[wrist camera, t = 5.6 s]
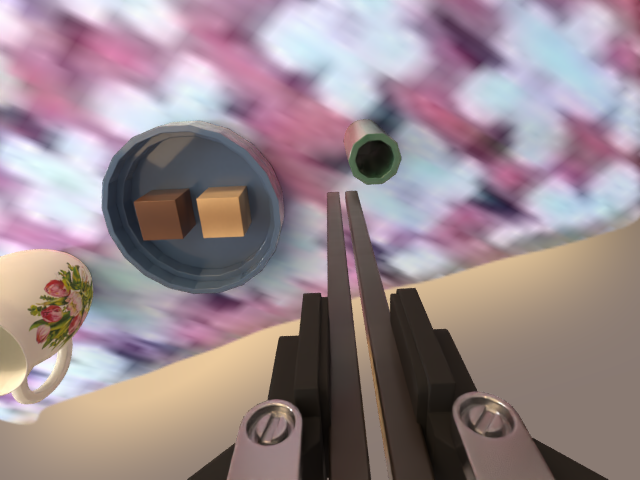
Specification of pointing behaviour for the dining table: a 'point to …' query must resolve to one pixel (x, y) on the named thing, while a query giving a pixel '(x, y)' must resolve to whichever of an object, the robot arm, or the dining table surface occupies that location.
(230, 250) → the bowl
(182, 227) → the walnut block
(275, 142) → the dining table surface
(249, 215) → the beech block
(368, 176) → the holder
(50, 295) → the pitcher
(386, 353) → the chopsticks
